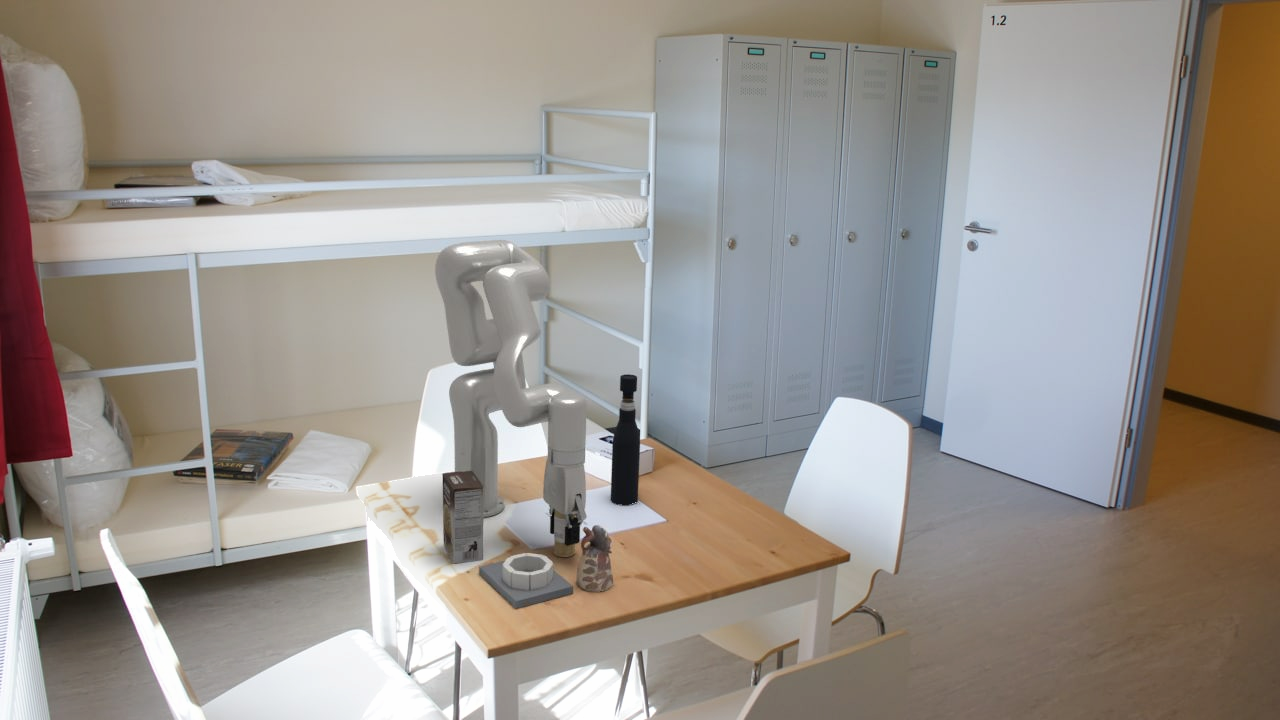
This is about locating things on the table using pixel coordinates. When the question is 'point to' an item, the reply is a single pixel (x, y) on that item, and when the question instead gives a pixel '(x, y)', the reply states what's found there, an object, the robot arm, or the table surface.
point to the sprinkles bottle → (562, 536)
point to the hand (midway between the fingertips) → (564, 537)
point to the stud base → (524, 594)
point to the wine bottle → (626, 447)
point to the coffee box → (463, 516)
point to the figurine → (595, 561)
